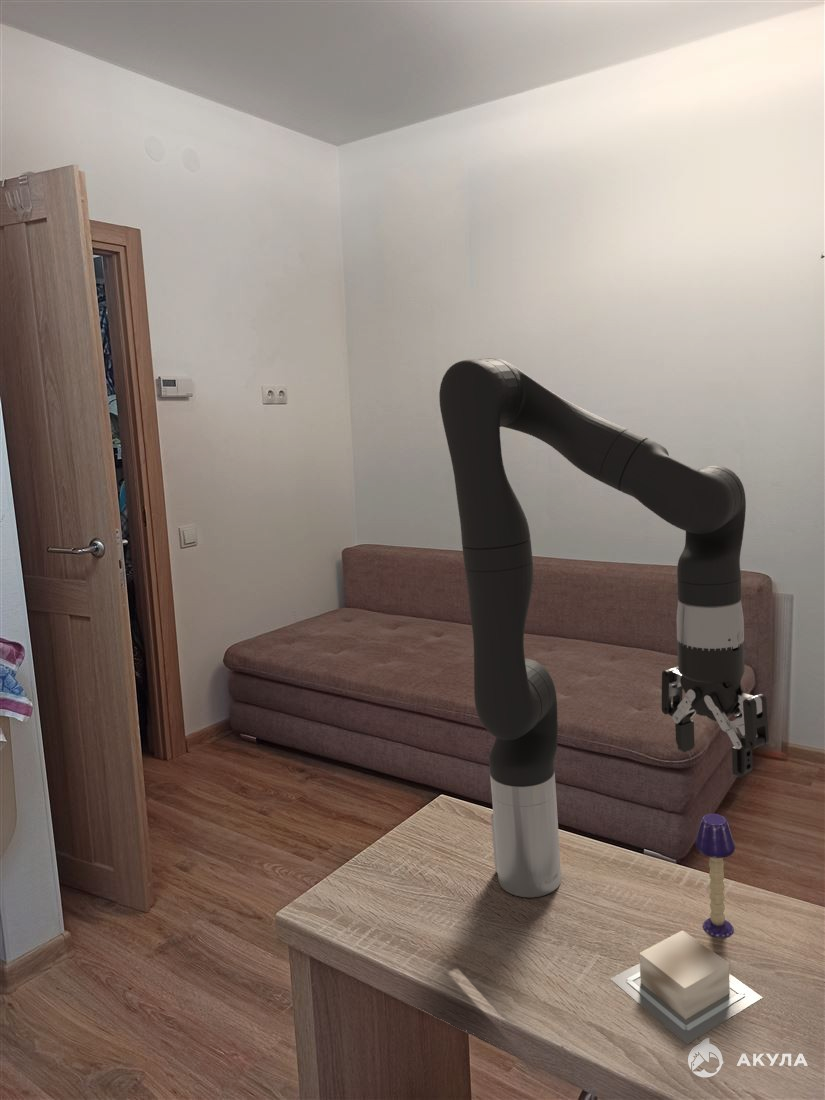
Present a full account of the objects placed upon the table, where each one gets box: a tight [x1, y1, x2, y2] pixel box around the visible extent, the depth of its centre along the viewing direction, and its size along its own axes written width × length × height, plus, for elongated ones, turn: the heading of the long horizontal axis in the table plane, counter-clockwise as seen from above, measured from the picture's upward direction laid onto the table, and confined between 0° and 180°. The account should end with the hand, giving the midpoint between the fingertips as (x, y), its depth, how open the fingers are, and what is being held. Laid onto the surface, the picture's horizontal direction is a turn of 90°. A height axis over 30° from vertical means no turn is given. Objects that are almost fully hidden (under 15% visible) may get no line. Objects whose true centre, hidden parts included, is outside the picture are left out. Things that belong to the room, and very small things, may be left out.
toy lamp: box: [695, 813, 736, 939], centre depth 104 cm, size 5×5×17 cm
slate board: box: [609, 962, 764, 1045], centre depth 96 cm, size 12×12×1 cm
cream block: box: [639, 930, 730, 1019], centre depth 96 cm, size 7×7×4 cm
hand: (713, 761), depth 101 cm, fingers open, 8 cm apart
